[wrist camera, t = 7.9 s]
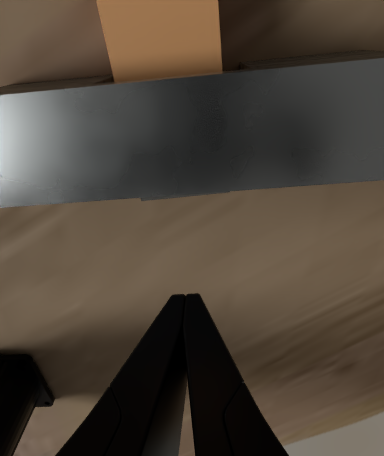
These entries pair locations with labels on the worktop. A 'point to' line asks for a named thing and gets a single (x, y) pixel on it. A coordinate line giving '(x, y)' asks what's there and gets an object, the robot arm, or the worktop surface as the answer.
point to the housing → (194, 131)
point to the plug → (161, 41)
